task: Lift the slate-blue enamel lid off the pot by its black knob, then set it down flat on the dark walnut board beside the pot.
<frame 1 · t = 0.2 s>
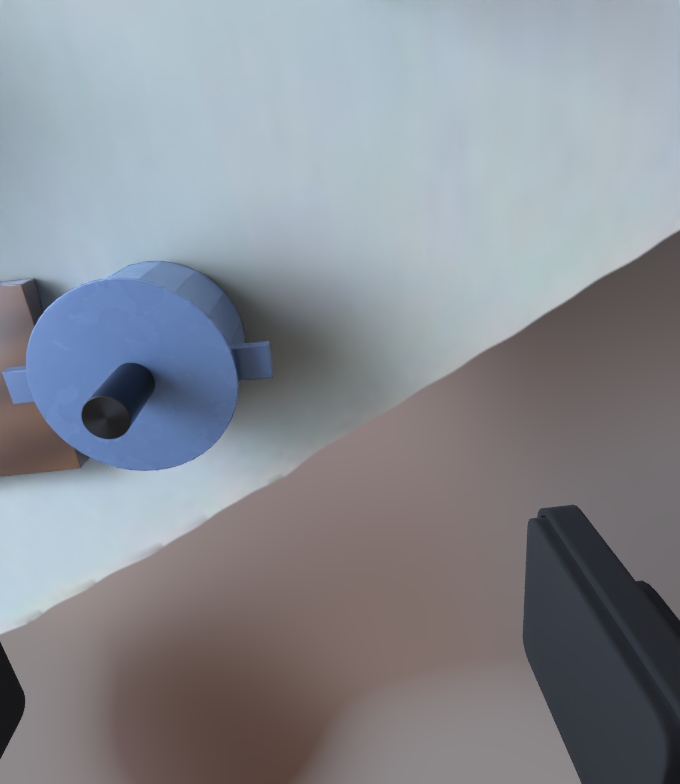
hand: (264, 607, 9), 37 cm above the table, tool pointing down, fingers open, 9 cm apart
pot: (166, 340, 45), on the table
lid: (136, 378, 37), point 8 cm above the table, touching pot
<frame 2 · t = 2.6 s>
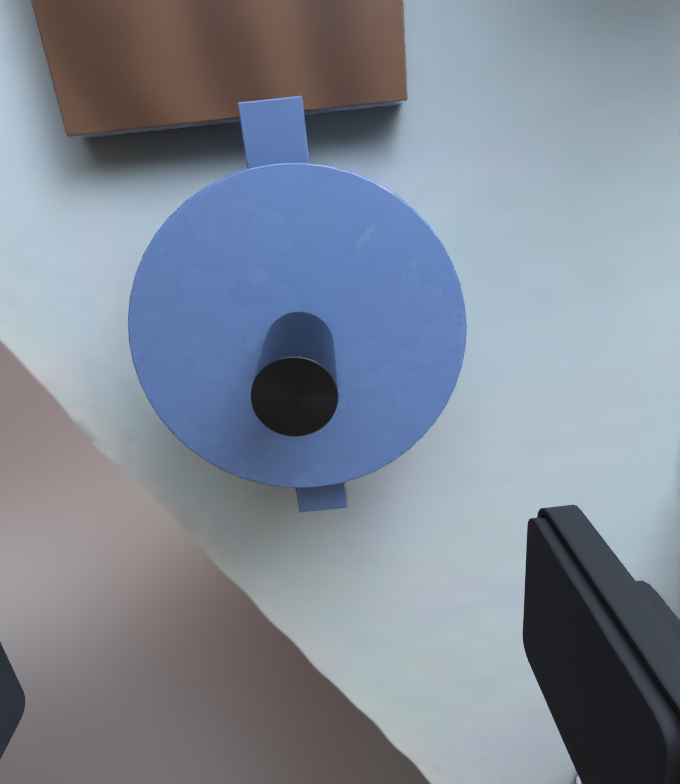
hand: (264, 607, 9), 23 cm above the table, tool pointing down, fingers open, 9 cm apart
pot: (304, 294, 31), on the table
lid: (300, 340, 23), point 8 cm above the table, touching pot
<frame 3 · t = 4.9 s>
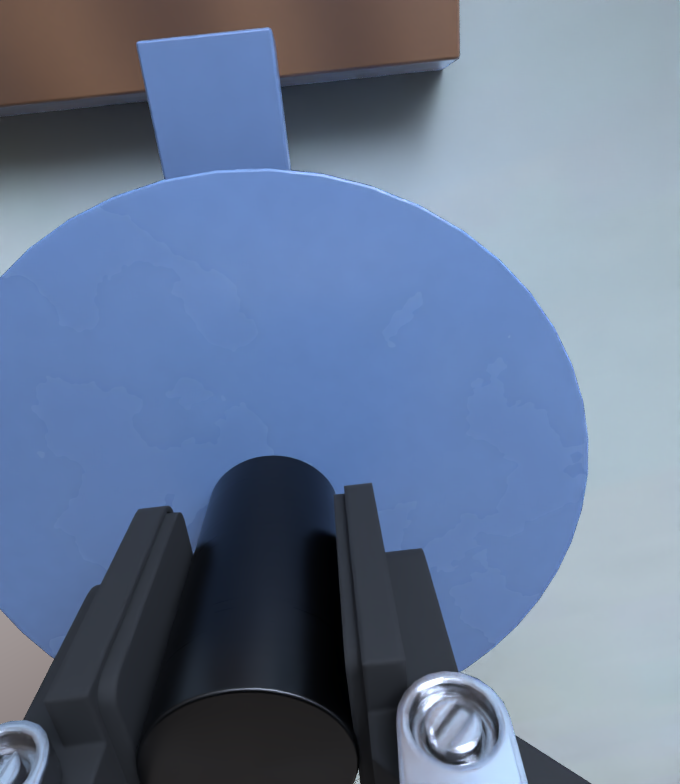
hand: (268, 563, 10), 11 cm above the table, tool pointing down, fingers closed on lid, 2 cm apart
pot: (289, 365, 20), on the table
lid: (276, 495, 12), point 9 cm above the table, touching gripper, pot
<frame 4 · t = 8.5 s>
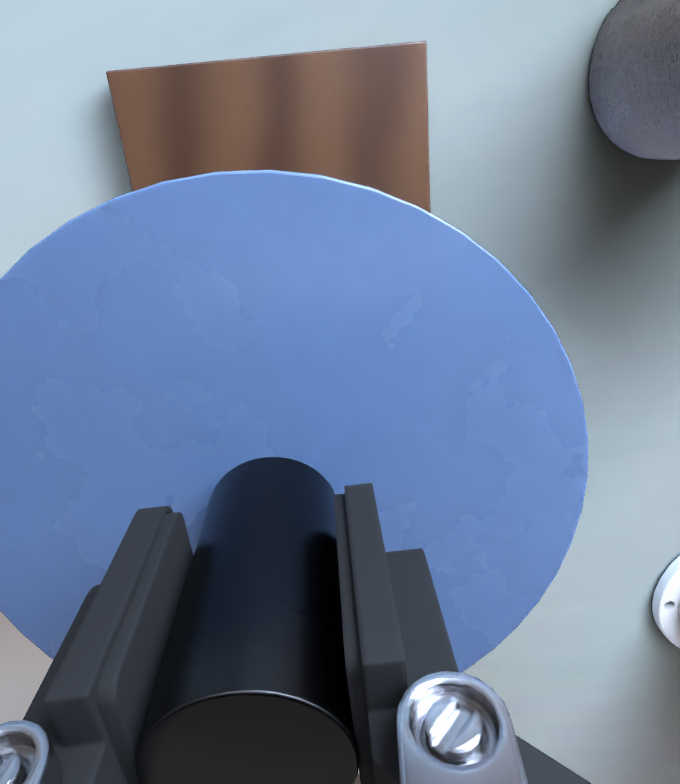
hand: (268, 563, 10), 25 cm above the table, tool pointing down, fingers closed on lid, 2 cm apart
board: (291, 245, 33), on the table
lid: (276, 496, 12), point 23 cm above the table, touching gripper
pillar candle: (673, 66, 30), on the table
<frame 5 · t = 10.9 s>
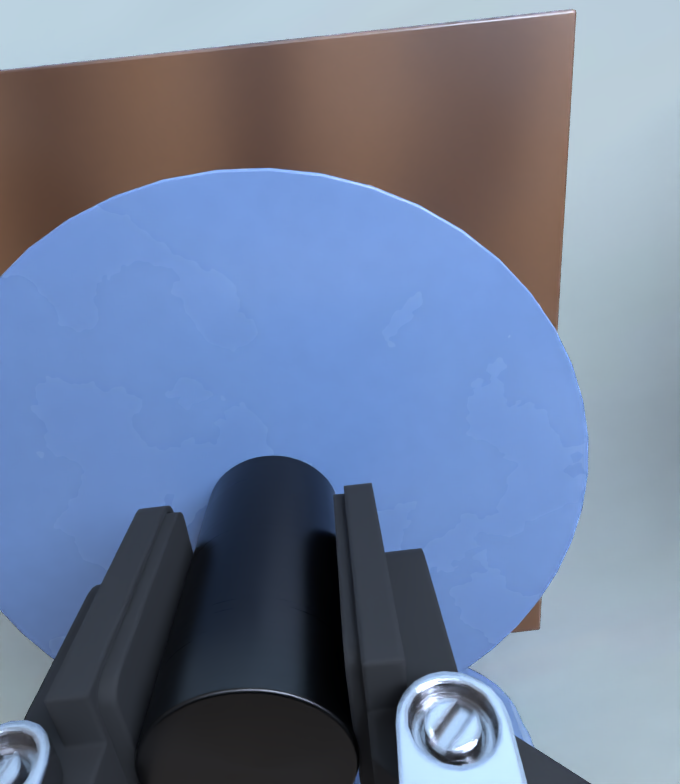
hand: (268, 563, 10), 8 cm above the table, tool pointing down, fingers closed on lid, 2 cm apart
board: (287, 393, 18), on the table
pot: (385, 756, 25), on the table
lid: (275, 495, 12), point 6 cm above the table, touching gripper
when the fingers open (5 cm above the table, at t = 12.1 s): lid stays where it is, resting on board.
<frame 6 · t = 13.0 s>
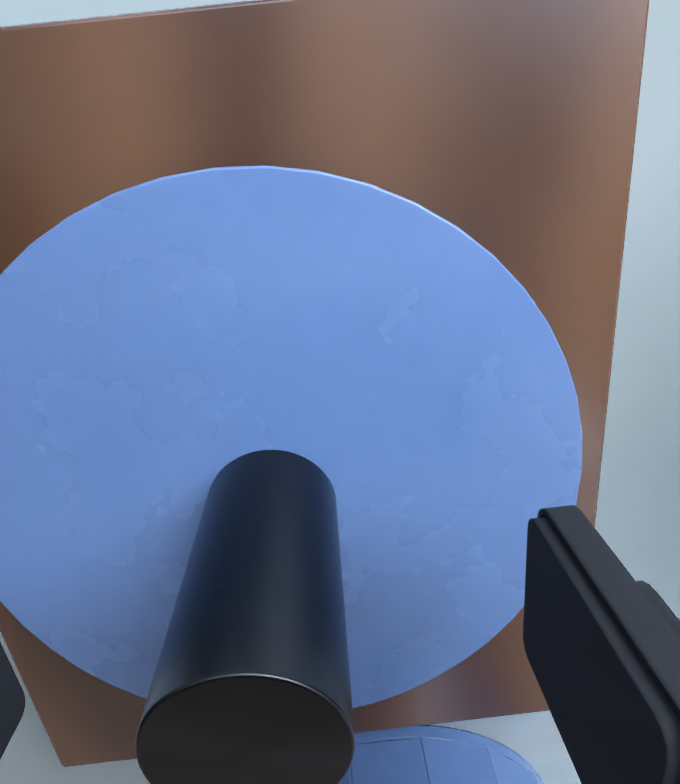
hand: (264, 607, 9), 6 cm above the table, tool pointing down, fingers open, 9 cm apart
board: (280, 437, 15), on the table
lid: (274, 489, 13), point 3 cm above the table, touching board
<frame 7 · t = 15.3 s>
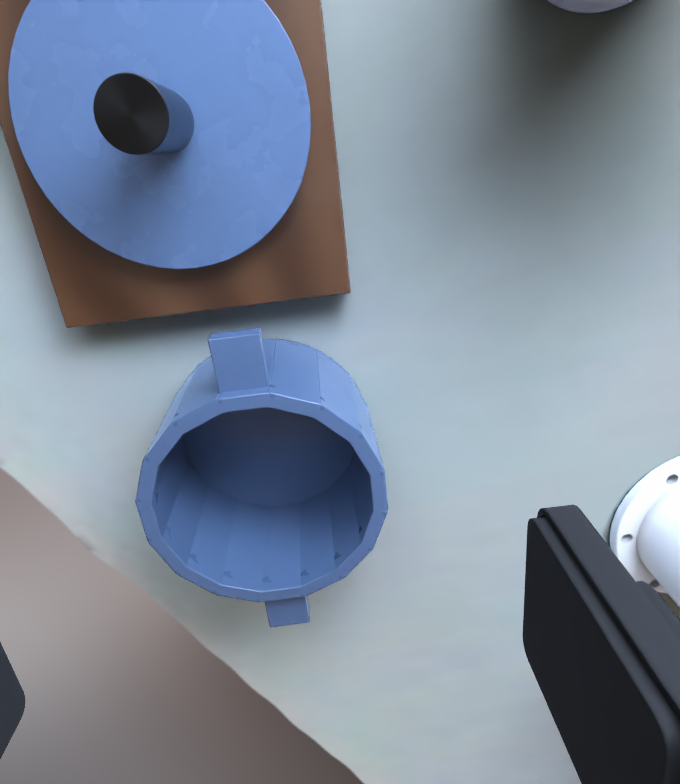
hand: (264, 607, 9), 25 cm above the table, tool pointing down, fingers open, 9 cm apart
board: (177, 124, 29), on the table
pot: (271, 430, 36), on the table
lid: (166, 122, 26), point 3 cm above the table, touching board
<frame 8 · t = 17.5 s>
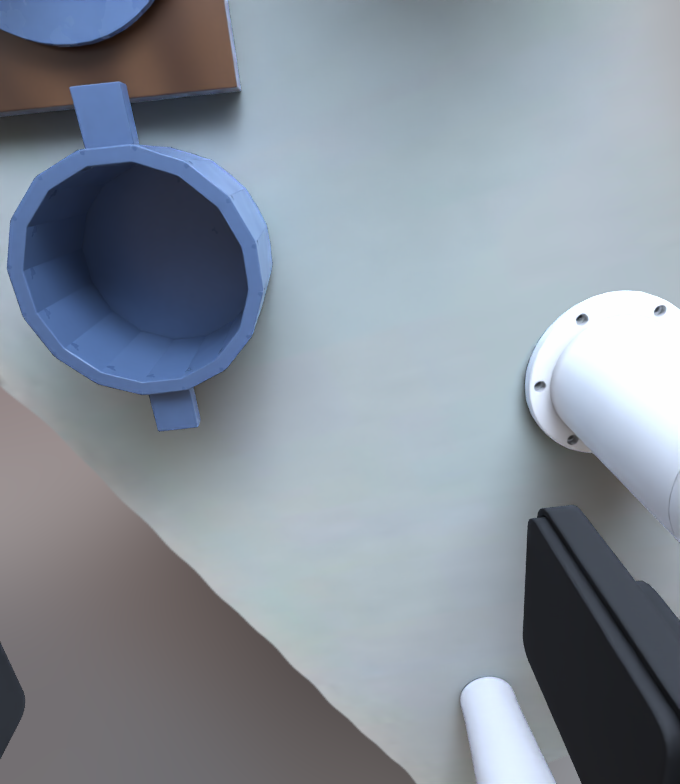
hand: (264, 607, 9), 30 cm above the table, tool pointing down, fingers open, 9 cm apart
white cylinder: (484, 690, 54), on the table
pot: (174, 254, 36), on the table
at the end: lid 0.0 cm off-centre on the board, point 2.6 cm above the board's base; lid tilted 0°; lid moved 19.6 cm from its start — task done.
